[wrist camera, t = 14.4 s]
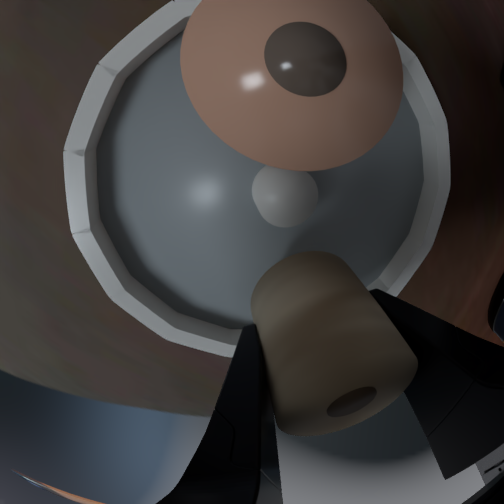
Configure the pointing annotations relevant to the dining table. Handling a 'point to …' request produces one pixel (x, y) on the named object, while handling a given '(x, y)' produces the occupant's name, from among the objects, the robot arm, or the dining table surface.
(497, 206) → the dining table surface
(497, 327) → the supplement container
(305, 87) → the terracotta bead
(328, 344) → the maple bead
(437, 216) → the ring tray
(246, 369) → the robot arm
